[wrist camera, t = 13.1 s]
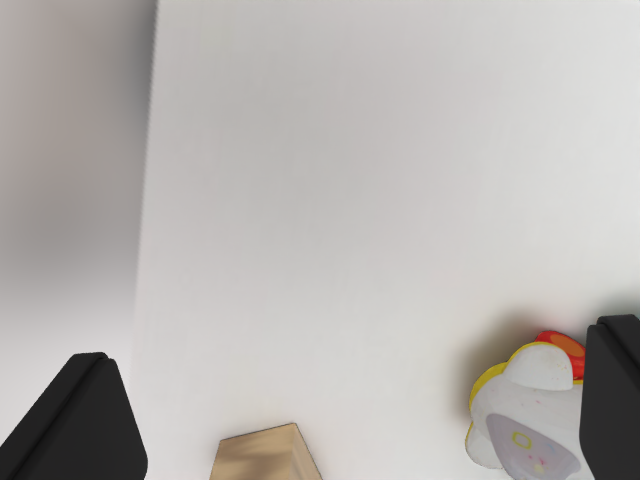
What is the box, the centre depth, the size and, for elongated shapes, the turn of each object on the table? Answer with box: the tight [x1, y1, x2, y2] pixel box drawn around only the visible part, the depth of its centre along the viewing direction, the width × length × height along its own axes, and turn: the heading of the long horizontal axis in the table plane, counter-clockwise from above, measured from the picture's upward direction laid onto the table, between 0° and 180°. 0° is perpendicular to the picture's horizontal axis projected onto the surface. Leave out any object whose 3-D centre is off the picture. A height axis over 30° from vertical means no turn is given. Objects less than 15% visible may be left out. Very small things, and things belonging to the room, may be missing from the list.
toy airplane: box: [465, 331, 595, 480], centre depth 27 cm, size 13×9×15 cm
